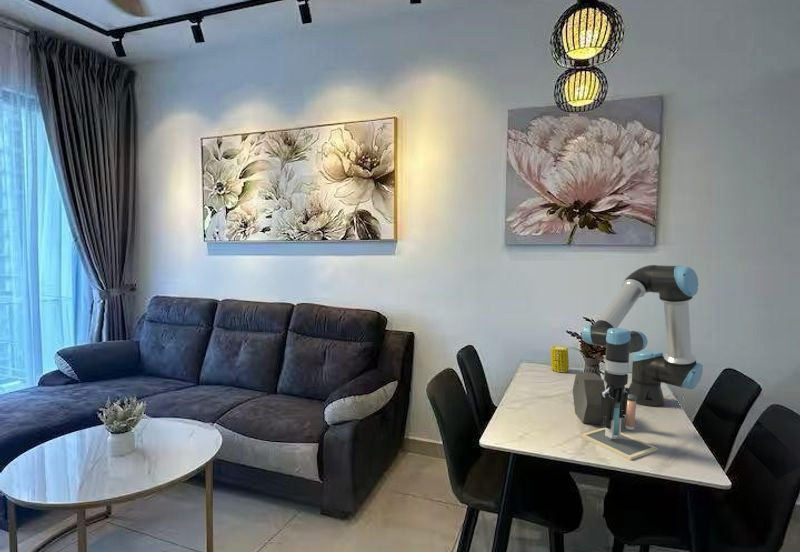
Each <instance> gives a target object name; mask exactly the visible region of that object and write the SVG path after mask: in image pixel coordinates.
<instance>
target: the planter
mask: <svg viewBox="0 0 800 552" xmlns="http://www.w3.org/2000/svg"><path fill="white" fill-rule="evenodd" d="M572 387H573V388H572V399H573V406H574V414H575V415H576V416H577V419H579V420H580V422H581V423H582V424H593V425H594V424H595V425H604V421H605V418H603V417H601V394H600V392H601V391H603V392H604V391H605V390H606V386H605V381H604V378H601V376H599V375H598V374H597V373H595V372H581V371H580V372H579V371H576V373H575V376H574V382H573V385H572Z"/></svg>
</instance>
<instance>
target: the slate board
mask: <svg viewBox="0 0 800 552" xmlns="http://www.w3.org/2000/svg"><path fill="white" fill-rule="evenodd" d="M579 437H580V438H582V439H584V440H586V441H589V442H590V443H592V444H595V445H597V446H599V447H601V448H604V449H605V450H608V451H610V452H612V453H614V454H615V455H618V456H619V457H622V458H625V459H627V460H629V461H632V460H635V459H639V458H641V457H643V456H646V455H649V454H652V453H654V452H657V451H659V448H658V447H656V446H654V445H652V444H649V443H647V442H644V441H642V440H640V439H637V438H635V437H633V436H630V435H628V434H626V433H623V432H620V436H617V439H612V438H609V437H607V436H605V426H604V427H601V428H598V429H594V430H592V431H588V432H583V433H581V434H580V436H579Z"/></svg>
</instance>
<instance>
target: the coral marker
mask: <svg viewBox="0 0 800 552" xmlns="http://www.w3.org/2000/svg"><path fill="white" fill-rule="evenodd" d="M636 399H637V396H635V395H631V394H628V400H627V410H626V415H624V416H625V418H624V425H625V426H624V428H625V429H626V430H628V431H634V430H635V426H636V411H637V403H636Z"/></svg>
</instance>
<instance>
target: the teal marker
mask: <svg viewBox="0 0 800 552" xmlns="http://www.w3.org/2000/svg"><path fill="white" fill-rule="evenodd" d="M619 411H620V402H618V401H616V402H615V407H614V414H613V419H612V420H614V433H613V438H612V439H617V435H618V428H619ZM609 438H610V437H609Z"/></svg>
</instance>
